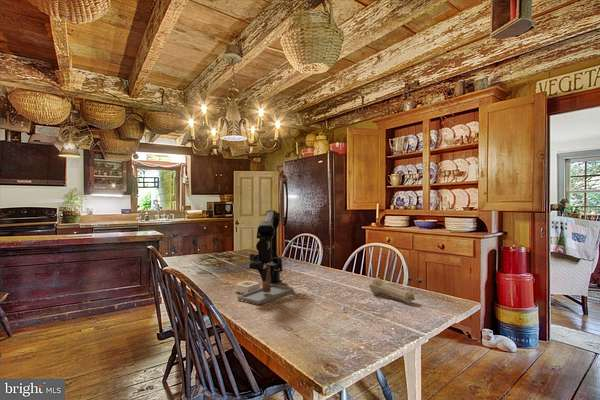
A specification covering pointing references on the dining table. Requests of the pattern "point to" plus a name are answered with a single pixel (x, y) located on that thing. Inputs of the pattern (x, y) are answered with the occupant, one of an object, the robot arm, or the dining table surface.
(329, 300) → the dining table surface
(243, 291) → the square frame
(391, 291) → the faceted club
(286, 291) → the tray
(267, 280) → the pin
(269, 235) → the robot arm
